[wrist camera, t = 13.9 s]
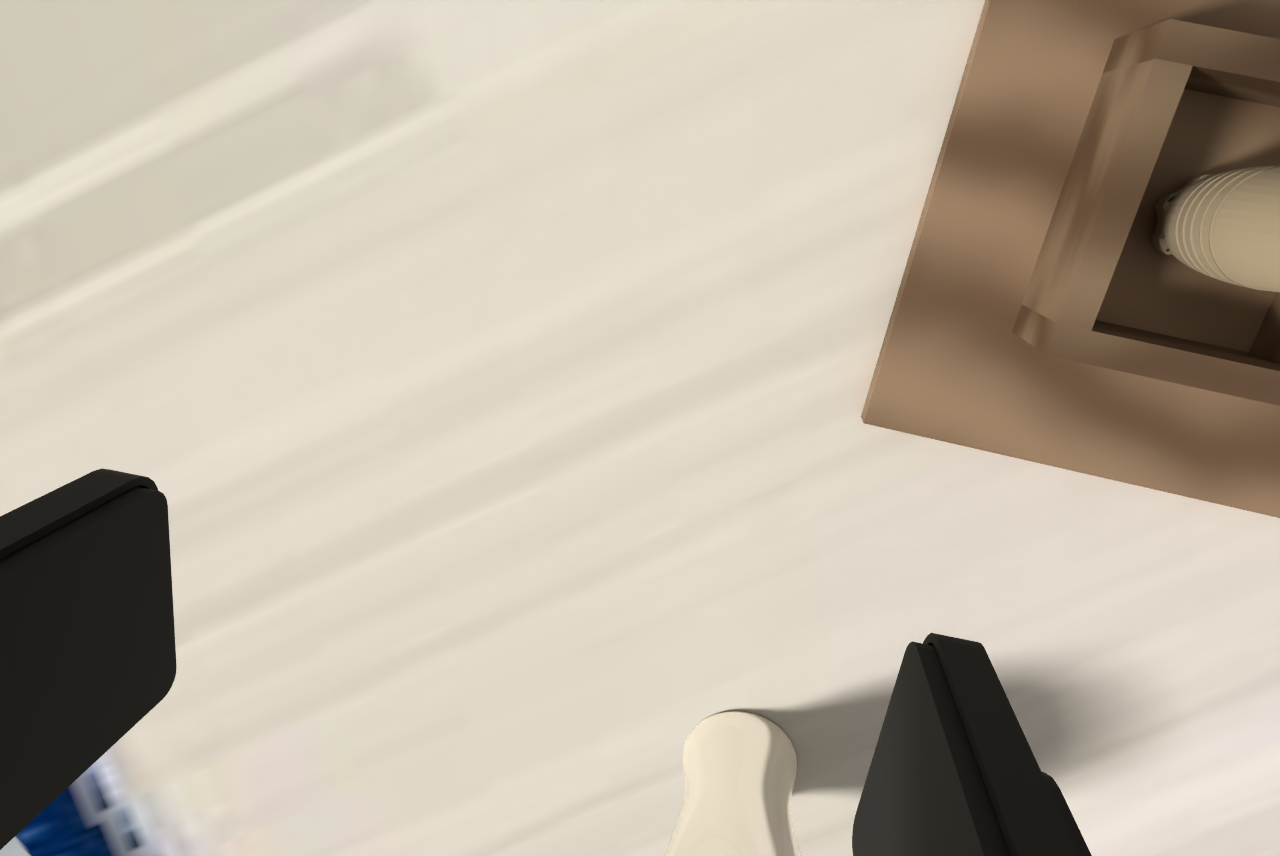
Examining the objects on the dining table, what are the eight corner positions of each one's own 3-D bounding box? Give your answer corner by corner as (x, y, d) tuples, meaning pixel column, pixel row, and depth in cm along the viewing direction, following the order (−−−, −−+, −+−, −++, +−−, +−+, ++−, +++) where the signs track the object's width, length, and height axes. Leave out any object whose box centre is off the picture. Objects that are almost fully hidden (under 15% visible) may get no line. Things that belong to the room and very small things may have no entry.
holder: (1026, -136, 30) (1080, -199, 25) (1598, -38, 29) (1781, -82, 24) (861, 416, 37) (876, 456, 32) (1312, 519, 36) (1404, 578, 31)
